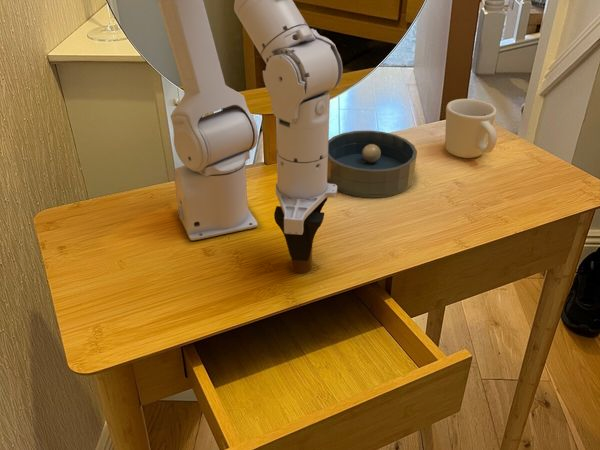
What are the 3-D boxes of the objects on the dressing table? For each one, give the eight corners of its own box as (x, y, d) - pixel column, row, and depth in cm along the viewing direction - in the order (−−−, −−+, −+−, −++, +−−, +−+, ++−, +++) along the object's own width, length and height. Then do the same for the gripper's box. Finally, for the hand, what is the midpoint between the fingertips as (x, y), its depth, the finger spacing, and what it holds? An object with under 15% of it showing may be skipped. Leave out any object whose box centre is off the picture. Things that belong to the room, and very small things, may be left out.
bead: (366, 167, 100) (368, 150, 98) (358, 159, 102) (359, 142, 100) (383, 164, 101) (384, 147, 99) (374, 156, 103) (375, 139, 101)
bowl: (347, 205, 91) (348, 178, 88) (309, 163, 102) (309, 138, 99) (431, 187, 95) (434, 161, 93) (385, 149, 106) (388, 125, 104)
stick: (295, 275, 77) (295, 220, 72) (288, 263, 79) (287, 209, 74) (315, 270, 78) (316, 215, 73) (307, 259, 80) (307, 205, 75)
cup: (509, 165, 102) (518, 119, 97) (467, 173, 99) (475, 126, 95) (470, 138, 110) (477, 95, 106) (431, 146, 108) (437, 102, 103)
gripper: (332, 185, 63) (328, 291, 70) (343, 127, 75) (339, 222, 82) (263, 180, 64) (266, 285, 71) (285, 123, 76) (286, 218, 83)
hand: (301, 251), depth 77 cm, fingers closed on stick, 2 cm apart
